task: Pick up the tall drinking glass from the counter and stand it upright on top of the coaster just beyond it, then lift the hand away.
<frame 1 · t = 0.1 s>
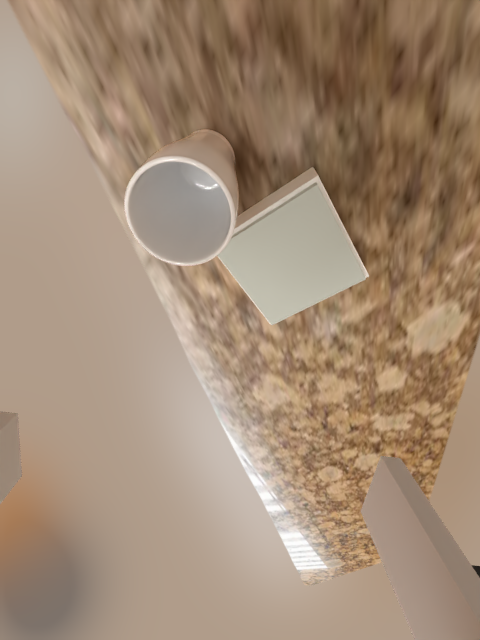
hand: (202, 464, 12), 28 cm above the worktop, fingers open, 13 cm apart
coaster: (288, 247, 37), on the worktop
drinking glass: (207, 159, 32), on the worktop
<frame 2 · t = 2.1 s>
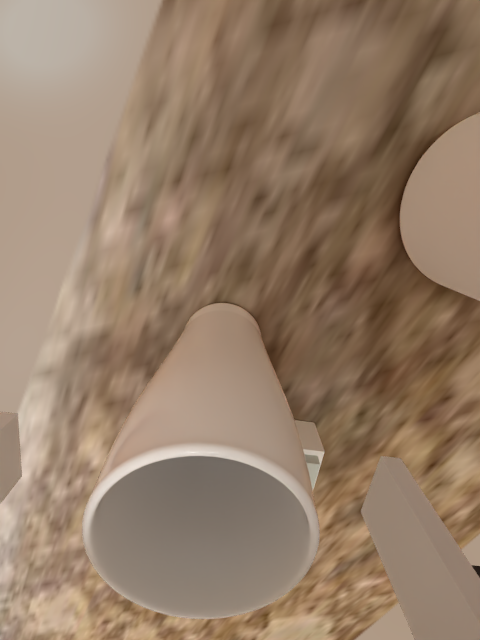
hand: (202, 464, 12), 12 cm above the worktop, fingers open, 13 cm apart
cup: (470, 205, 21), on the worktop
coaster: (226, 473, 27), on the worktop
drinking glass: (222, 335, 23), on the worktop
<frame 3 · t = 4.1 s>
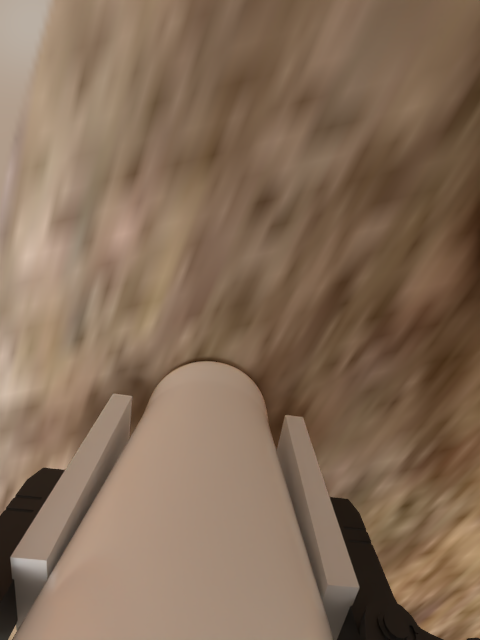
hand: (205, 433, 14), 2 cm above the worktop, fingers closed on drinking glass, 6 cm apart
drinking glass: (208, 404, 16), on the worktop, touching gripper
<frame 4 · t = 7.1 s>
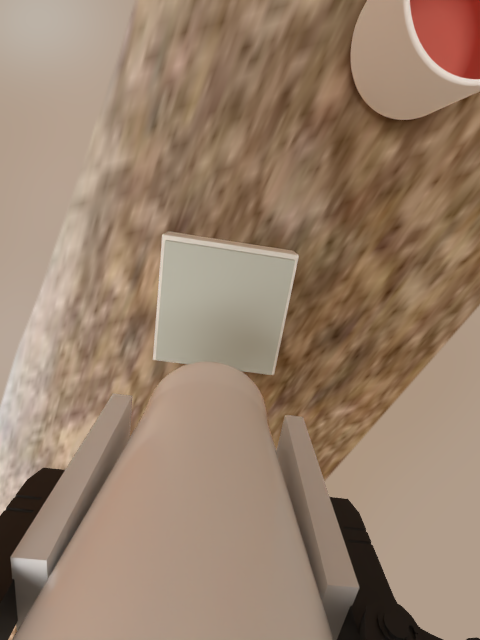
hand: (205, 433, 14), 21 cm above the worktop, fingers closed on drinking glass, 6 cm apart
cup: (404, 55, 28), on the worktop
coaster: (223, 300, 34), on the worktop
drinking glass: (208, 404, 16), point 19 cm above the worktop, touching gripper
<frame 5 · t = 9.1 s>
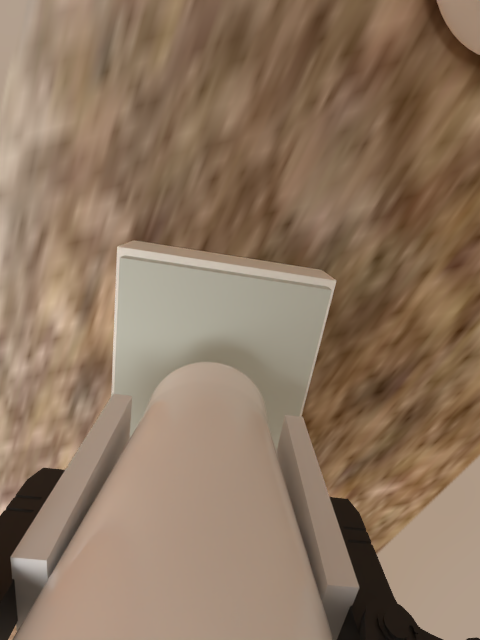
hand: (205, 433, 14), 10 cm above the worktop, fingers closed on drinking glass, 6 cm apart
coaster: (217, 341, 23), on the worktop
drinking glass: (208, 405, 16), point 8 cm above the worktop, touching gripper
when the fingers open (7 cm above the worktop, at t = 10.4 s): drinking glass drops 1 cm, resting on coaster.
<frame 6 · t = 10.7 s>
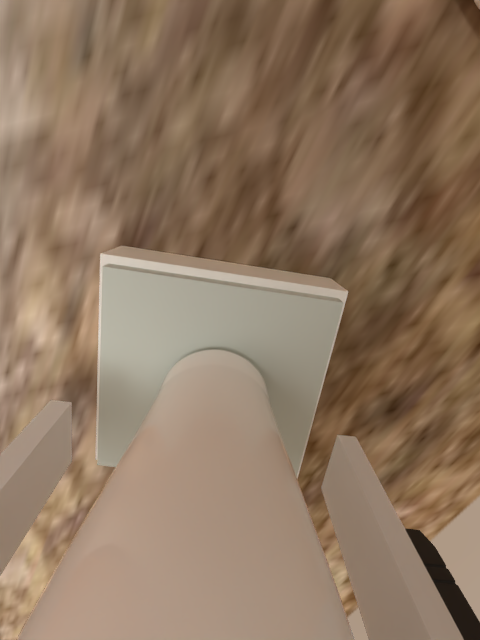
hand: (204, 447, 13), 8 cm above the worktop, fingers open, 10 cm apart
coaster: (214, 356, 21), on the worktop
drinking glass: (215, 390, 17), point 4 cm above the worktop, touching coaster
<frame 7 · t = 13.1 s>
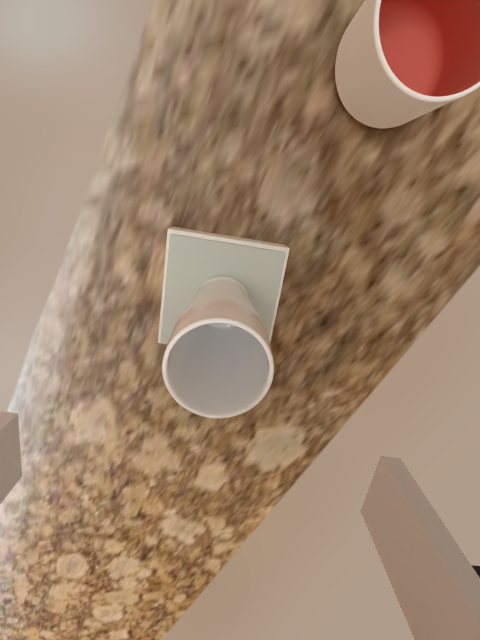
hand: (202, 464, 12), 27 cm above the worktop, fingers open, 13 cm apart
cup: (383, 71, 31), on the worktop
coaster: (221, 290, 37), on the worktop
drinking glass: (222, 300, 34), point 4 cm above the worktop, touching coaster
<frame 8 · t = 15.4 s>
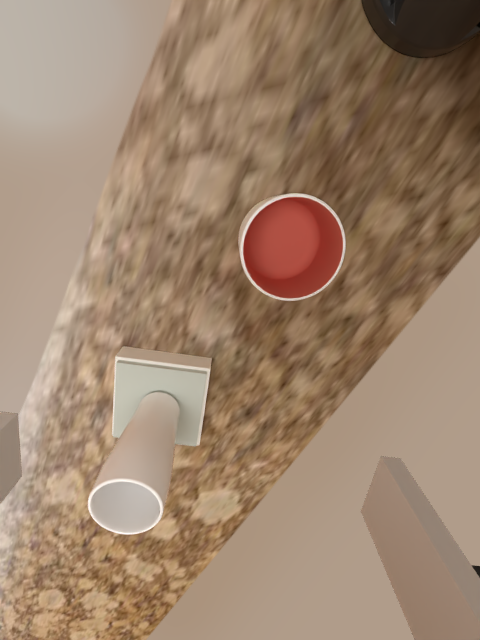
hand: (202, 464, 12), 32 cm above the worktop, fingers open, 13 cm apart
cup: (278, 239, 41), on the worktop
coaster: (164, 390, 47), on the worktop
drinking glass: (160, 406, 44), point 4 cm above the worktop, touching coaster
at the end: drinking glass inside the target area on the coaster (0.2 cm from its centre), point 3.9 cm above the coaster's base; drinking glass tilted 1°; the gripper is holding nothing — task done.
